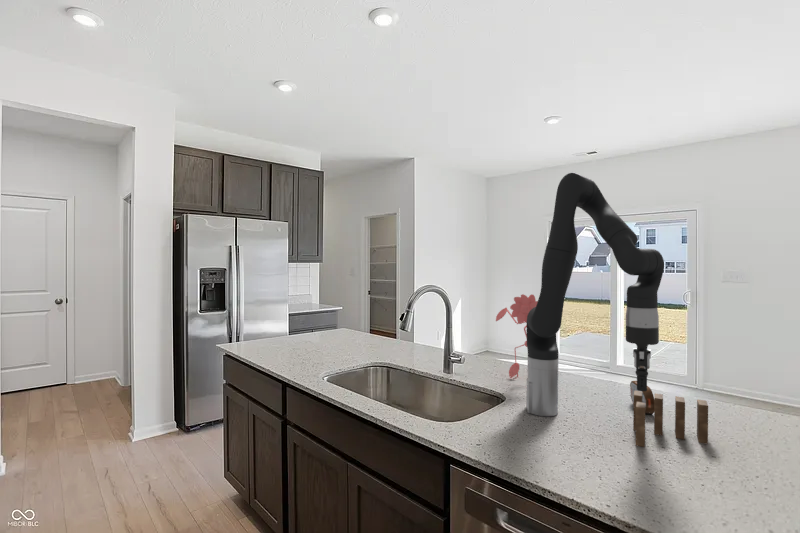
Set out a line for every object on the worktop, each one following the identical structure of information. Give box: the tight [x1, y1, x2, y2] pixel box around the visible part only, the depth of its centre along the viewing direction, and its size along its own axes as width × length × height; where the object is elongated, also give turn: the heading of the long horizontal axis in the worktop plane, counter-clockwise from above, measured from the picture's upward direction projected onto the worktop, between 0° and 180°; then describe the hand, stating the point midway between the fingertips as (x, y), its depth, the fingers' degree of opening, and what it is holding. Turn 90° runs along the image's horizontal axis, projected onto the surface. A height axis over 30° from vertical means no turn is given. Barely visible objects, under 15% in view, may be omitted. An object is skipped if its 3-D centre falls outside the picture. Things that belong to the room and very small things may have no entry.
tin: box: [629, 380, 654, 415], centre depth 136 cm, size 15×3×8 cm, turn 168°
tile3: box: [674, 396, 686, 441], centre depth 114 cm, size 2×5×10 cm, turn 149°
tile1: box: [632, 391, 642, 432], centre depth 120 cm, size 2×5×10 cm, turn 149°
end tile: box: [635, 402, 646, 448], centre depth 109 cm, size 2×5×10 cm, turn 149°
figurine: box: [495, 293, 538, 379], centre depth 167 cm, size 15×26×35 cm, turn 61°
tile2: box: [653, 392, 664, 437], centre depth 117 cm, size 2×5×10 cm, turn 149°
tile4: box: [696, 399, 709, 445], centre depth 112 cm, size 2×5×10 cm, turn 148°
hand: (642, 386), depth 110 cm, fingers open, 8 cm apart
